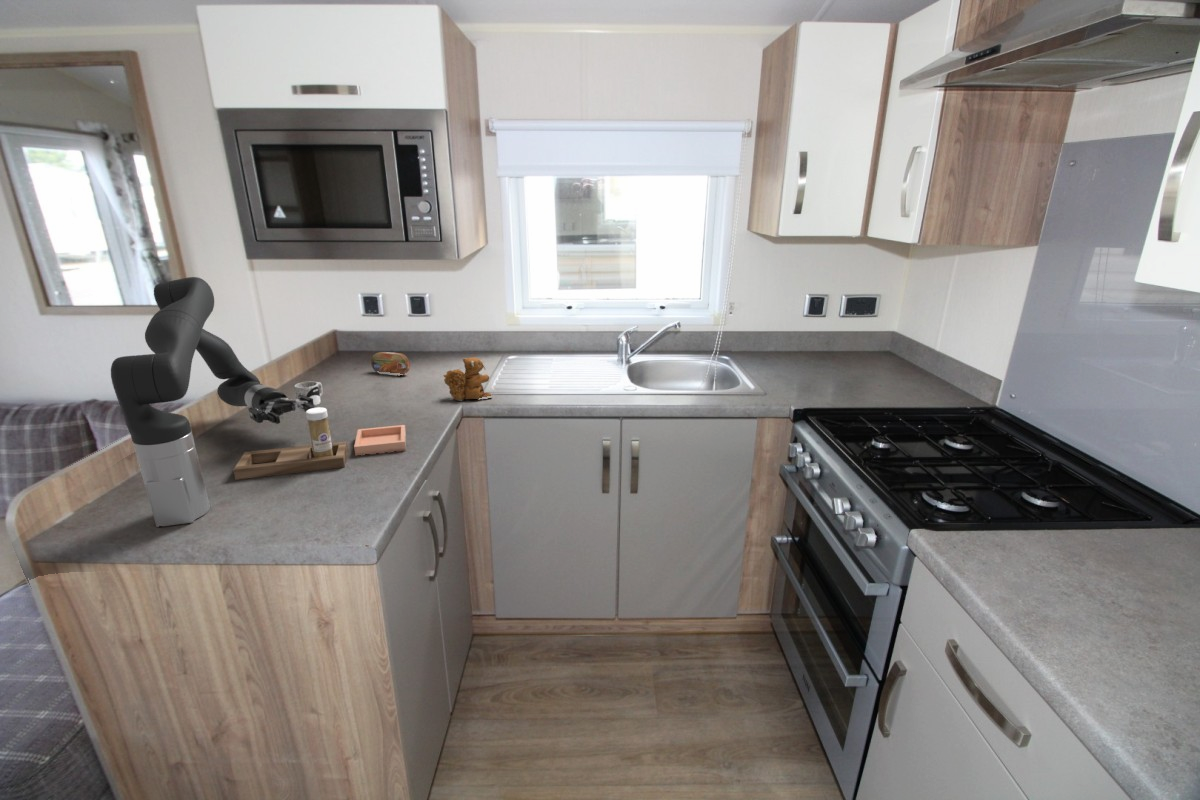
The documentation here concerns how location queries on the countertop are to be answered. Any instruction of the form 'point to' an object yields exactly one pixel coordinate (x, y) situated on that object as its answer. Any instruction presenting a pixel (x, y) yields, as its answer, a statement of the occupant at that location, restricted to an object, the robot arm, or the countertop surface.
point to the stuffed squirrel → (467, 380)
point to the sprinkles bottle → (319, 432)
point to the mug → (309, 391)
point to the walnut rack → (288, 461)
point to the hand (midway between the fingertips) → (295, 414)
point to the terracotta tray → (380, 440)
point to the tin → (390, 362)
